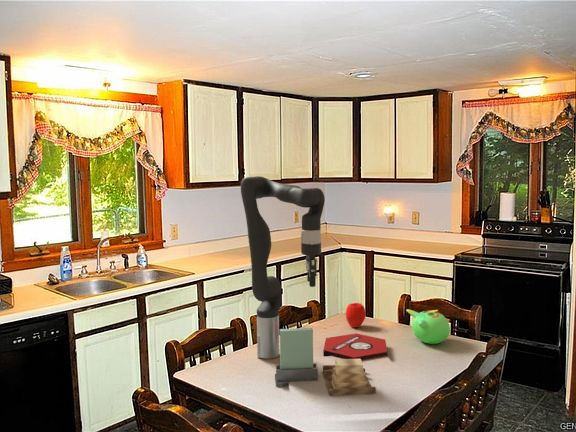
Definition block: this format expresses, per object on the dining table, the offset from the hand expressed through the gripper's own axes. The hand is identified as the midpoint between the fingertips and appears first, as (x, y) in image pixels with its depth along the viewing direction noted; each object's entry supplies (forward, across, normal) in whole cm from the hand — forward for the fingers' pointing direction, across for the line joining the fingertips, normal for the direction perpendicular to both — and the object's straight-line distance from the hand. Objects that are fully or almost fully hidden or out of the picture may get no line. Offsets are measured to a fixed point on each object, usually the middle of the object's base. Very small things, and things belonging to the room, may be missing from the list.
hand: (311, 283), depth 200 cm
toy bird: (+35, -30, +56) cm, 72 cm away
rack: (+35, +14, +11) cm, 39 cm away
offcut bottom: (+33, +18, +12) cm, 39 cm away
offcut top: (+27, +18, +12) cm, 34 cm away
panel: (+33, +7, -6) cm, 35 cm away
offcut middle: (+30, +18, +12) cm, 37 cm away
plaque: (+35, -21, +21) cm, 46 cm away
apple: (+35, -55, +27) cm, 71 cm away
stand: (+35, +8, -6) cm, 36 cm away
